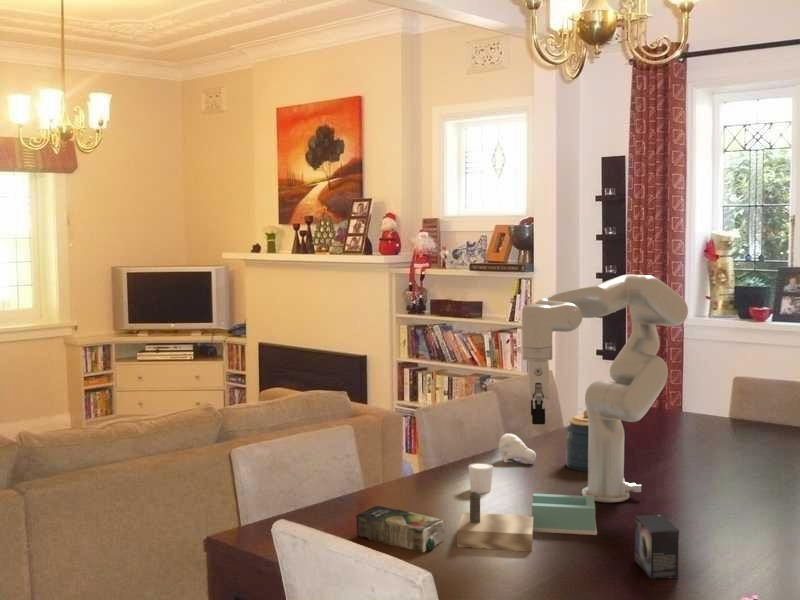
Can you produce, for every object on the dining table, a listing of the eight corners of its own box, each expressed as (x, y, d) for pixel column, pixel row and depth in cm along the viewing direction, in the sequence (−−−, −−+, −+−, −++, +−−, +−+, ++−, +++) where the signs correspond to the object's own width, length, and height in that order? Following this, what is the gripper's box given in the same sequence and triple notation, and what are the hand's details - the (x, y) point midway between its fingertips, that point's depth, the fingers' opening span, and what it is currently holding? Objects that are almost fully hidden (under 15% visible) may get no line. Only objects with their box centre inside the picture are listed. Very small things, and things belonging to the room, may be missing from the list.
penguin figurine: (506, 430, 288) (541, 438, 282) (504, 456, 290) (538, 465, 283) (497, 434, 283) (532, 442, 277) (495, 460, 284) (530, 469, 278)
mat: (595, 518, 229) (595, 516, 229) (596, 534, 217) (597, 532, 217) (534, 515, 231) (534, 513, 231) (533, 531, 220) (533, 529, 220)
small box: (632, 561, 200) (633, 514, 200) (661, 560, 201) (661, 513, 200) (649, 579, 190) (650, 530, 189) (679, 578, 190) (680, 529, 190)
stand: (533, 532, 219) (533, 486, 218) (531, 551, 206) (532, 502, 205) (463, 528, 222) (463, 483, 221) (457, 547, 209) (457, 499, 208)
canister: (561, 469, 274) (562, 412, 273) (570, 459, 286) (570, 404, 285) (605, 474, 270) (606, 415, 268) (612, 463, 281) (613, 407, 280)
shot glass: (491, 494, 250) (491, 469, 249) (466, 493, 251) (466, 468, 250) (494, 487, 256) (494, 463, 256) (469, 486, 258) (469, 462, 257)
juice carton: (449, 541, 214) (448, 516, 213) (427, 555, 205) (427, 528, 205) (378, 527, 224) (377, 503, 224) (355, 539, 216) (354, 514, 215)
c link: (593, 517, 228) (593, 496, 227) (595, 531, 218) (595, 508, 218) (533, 514, 230) (533, 493, 230) (531, 527, 221) (532, 505, 220)
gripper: (554, 358, 221) (554, 427, 223) (550, 348, 238) (551, 412, 240) (523, 358, 222) (523, 427, 224) (521, 348, 239) (522, 412, 241)
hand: (537, 419), depth 232 cm, fingers open, 9 cm apart
